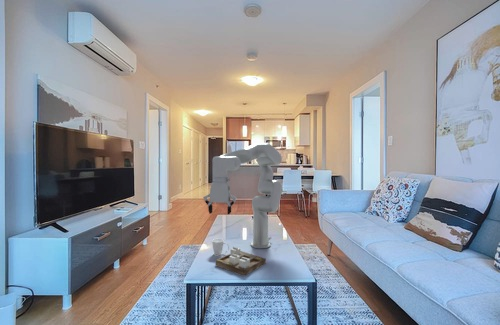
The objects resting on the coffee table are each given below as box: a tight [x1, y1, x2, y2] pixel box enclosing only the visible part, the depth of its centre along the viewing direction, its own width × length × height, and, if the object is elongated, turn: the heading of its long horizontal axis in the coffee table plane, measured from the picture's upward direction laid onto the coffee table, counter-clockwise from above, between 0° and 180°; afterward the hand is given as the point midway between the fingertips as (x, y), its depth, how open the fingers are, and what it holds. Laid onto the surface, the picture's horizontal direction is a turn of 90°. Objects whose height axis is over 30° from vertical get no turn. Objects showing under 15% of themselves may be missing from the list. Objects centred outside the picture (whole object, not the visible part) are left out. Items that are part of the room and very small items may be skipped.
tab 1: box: [229, 246, 241, 256], centre depth 136 cm, size 4×4×5 cm
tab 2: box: [239, 257, 250, 269], centre depth 121 cm, size 4×4×5 cm
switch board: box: [215, 250, 267, 277], centre depth 129 cm, size 18×19×3 cm
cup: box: [211, 238, 230, 257], centre depth 143 cm, size 7×10×8 cm
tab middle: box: [229, 254, 240, 265], centre depth 125 cm, size 4×4×5 cm
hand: (219, 213), depth 128 cm, fingers open, 9 cm apart
